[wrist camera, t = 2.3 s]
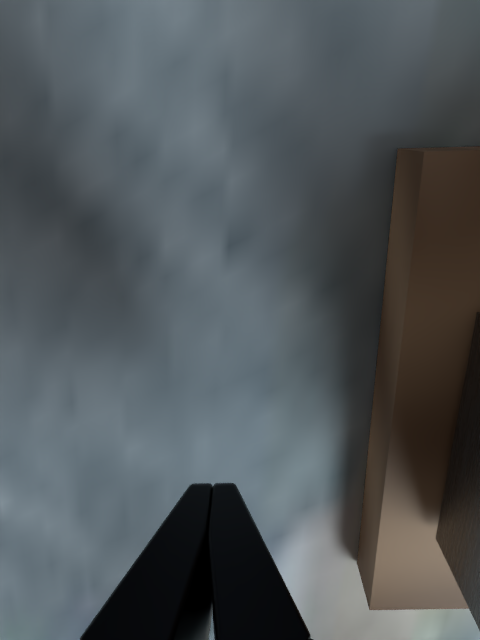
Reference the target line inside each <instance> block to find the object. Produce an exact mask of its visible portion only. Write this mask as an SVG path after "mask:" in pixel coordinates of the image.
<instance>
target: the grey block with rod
mask: <svg viewBox="0 0 480 640" xmlns="http://www.w3.org/2000/svg"><path fill="white" fill-rule="evenodd" d="M436 540H437V542H438V544H439V547H440V549H441V551H442V553H443V555H444V557H445V559H446V561H447V563H448V565H449V567H450V570H451V572H452V574H453V576H454V578H455V580H456V582H457V584H458V586H459V588H460V590H461V593H462V595H463V597H464V599H465V601H466V603H467V605H468V607H469V609H470V611H471V614H472V616H473V618H474V620H475V622H476V624H477V626H478V628H479V630H480V312H477V314H476V319H475V325H474V330H473V335H472V341H471V346H470V352H469V357H468V363H467V368H466V374H465V379H464V385H463V390H462V396H461V401H460V406H459V412H458V417H457V423H456V428H455V434H454V439H453V445H452V450H451V456H450V461H449V467H448V472H447V478H446V483H445V488H444V494H443V499H442V505H441V510H440V516H439V521H438V527H437V532H436Z"/></svg>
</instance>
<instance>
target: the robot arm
mask: <svg viewBox="0 0 480 640" xmlns="http://www.w3.org/2000/svg"><path fill="white" fill-rule="evenodd" d="M212 610H213V623H214V636H215V640H313V639H310V637H311V636H310V633H309V631H308V629H307V627H306V625H305V623H304V621H303V619H302V617H301V615H300V613H299V611H298V609H297V607H296V605H295V603H294V601H293V599H292V597H291V595H290V593H289V591H288V589H287V587H286V585H285V583H284V581H283V579H282V577H281V575H280V573H279V571H278V569H277V567H276V565H275V562H274V560H273V558H272V556H271V554H270V552H269V550H268V548H267V546H266V544H265V542H264V540H263V538H262V536H261V534H260V532H259V530H258V528H257V526H256V524H255V522H254V520H253V518H252V516H251V514H250V512H249V510H248V508H247V506H246V504H245V502H244V500H243V498H242V496H241V494H240V492H239V490H238V488H237V486H236V485H235V484H234V483H216V484H214V486H212V485H211V484H210V483H201V484H191V485H190V486H189V487H188V489H187V490H186V491H185V493H184V494H183V496H182V497H181V498H180V500H179V501H178V503H177V504H176V505H175V507H174V508H173V509H172V511H171V512H170V514H169V515H168V516H167V518H166V519H165V521H164V522H163V523H162V525H161V526H160V528H159V529H158V530H157V532H156V533H155V535H154V536H153V537H152V539H151V540H150V541H149V543H148V544H147V546H146V547H145V548H144V550H143V551H142V553H141V554H140V555H139V557H138V558H137V560H136V561H135V562H134V564H133V565H132V567H131V568H130V569H129V571H128V572H127V574H126V575H125V576H124V578H123V579H122V580H121V582H120V583H119V585H118V586H117V587H116V589H115V590H114V592H113V593H112V594H111V596H110V597H109V599H108V600H107V601H106V603H105V604H104V606H103V607H102V608H101V610H100V611H99V612H98V614H97V615H96V617H95V618H94V619H93V621H92V622H91V624H90V625H89V626H88V628H87V629H86V631H85V632H84V633H83V635H82V636H81V638H80V640H208V639H209V632H210V625H211V616H212Z"/></svg>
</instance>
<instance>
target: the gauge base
mask: <svg viewBox="0 0 480 640" xmlns="http://www.w3.org/2000/svg"><path fill="white" fill-rule="evenodd" d="M477 312H480V146H473V147H437V148H401V149H398V151H397V161H396V171H395V182H394V192H393V202H392V212H391V222H390V233H389V243H388V253H387V263H386V273H385V284H384V294H383V304H382V314H381V324H380V334H379V345H378V355H377V365H376V375H375V385H374V396H373V406H372V416H371V426H370V436H369V447H368V457H367V467H366V477H365V487H364V498H363V508H362V518H361V528H360V538H359V548H358V559H357V565H358V568H359V572H360V576H361V580H362V583H363V587H364V591H365V594H366V598H367V602H368V606H369V609H370V610H402V609H466V608H469V607H468V605H467V603H466V601H465V599H464V597H463V595H462V593H461V590H460V588H459V586H458V584H457V582H456V580H455V578H454V576H453V574H452V572H451V570H450V567H449V565H448V563H447V561H446V559H445V557H444V555H443V553H442V551H441V549H440V547H439V544H438V542H437V540H436V532H437V527H438V521H439V516H440V510H441V505H442V499H443V494H444V488H445V483H446V478H447V472H448V467H449V461H450V456H451V450H452V445H453V439H454V434H455V428H456V423H457V417H458V412H459V406H460V401H461V396H462V390H463V385H464V379H465V374H466V368H467V363H468V357H469V352H470V346H471V341H472V335H473V330H474V325H475V319H476V314H477Z"/></svg>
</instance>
